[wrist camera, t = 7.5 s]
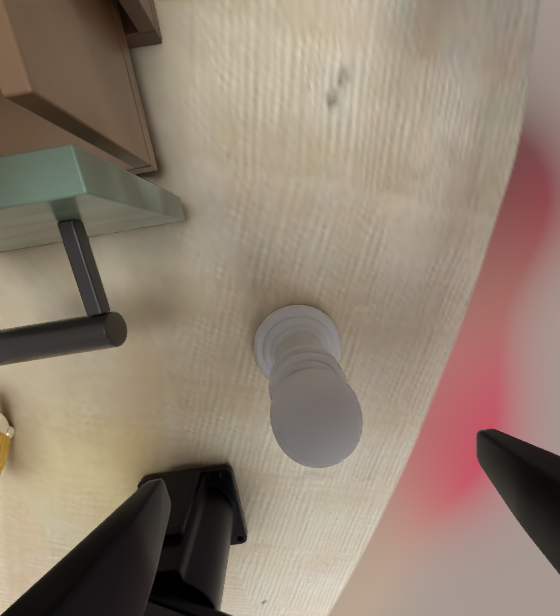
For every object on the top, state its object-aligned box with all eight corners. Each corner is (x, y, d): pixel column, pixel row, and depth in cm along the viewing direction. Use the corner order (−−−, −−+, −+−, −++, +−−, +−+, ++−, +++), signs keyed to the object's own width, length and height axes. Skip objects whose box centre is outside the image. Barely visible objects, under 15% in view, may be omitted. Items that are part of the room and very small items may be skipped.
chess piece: (324, 290, 16) (380, 342, 8) (349, 368, 18) (423, 490, 9) (241, 319, 17) (203, 401, 8) (271, 394, 18) (267, 536, 9)
